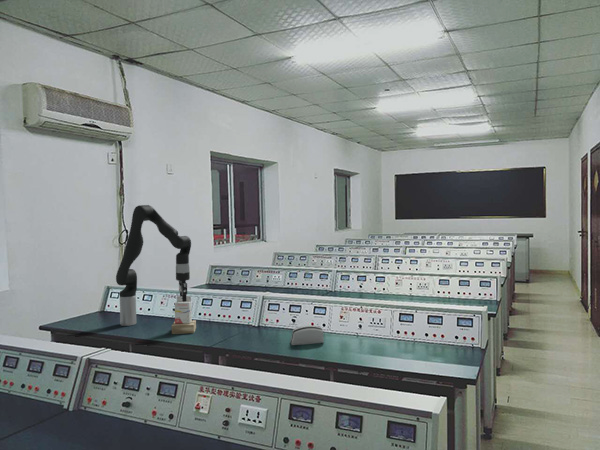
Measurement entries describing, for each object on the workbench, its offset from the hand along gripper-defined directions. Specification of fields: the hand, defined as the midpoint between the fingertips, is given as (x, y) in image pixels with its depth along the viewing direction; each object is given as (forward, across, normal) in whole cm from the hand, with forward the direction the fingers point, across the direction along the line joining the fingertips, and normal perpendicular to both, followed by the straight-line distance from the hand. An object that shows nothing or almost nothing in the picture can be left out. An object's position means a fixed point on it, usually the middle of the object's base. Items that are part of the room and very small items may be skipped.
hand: (183, 300), depth 274 cm
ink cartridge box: (+13, 0, 0) cm, 13 cm away
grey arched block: (+17, +56, +52) cm, 78 cm away
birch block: (+18, 0, 0) cm, 18 cm away
